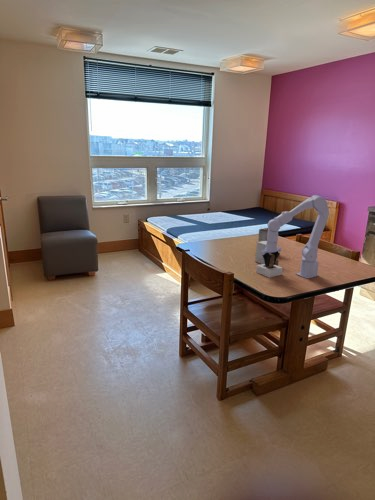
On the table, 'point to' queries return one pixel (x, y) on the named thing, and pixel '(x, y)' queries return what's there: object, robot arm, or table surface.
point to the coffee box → (263, 234)
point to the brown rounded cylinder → (271, 262)
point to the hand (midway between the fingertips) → (269, 265)
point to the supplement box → (259, 248)
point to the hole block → (269, 270)
